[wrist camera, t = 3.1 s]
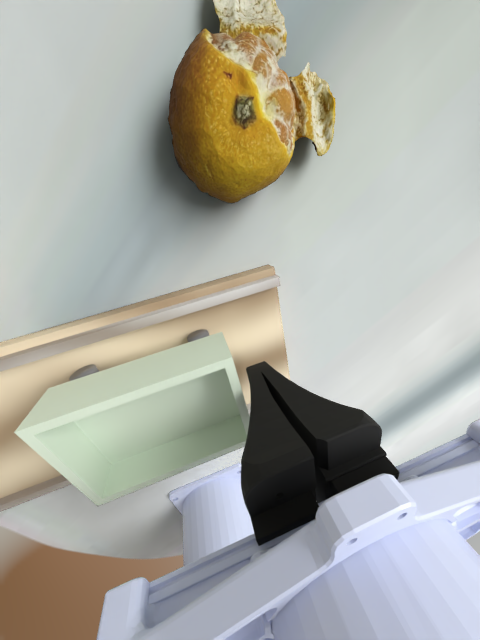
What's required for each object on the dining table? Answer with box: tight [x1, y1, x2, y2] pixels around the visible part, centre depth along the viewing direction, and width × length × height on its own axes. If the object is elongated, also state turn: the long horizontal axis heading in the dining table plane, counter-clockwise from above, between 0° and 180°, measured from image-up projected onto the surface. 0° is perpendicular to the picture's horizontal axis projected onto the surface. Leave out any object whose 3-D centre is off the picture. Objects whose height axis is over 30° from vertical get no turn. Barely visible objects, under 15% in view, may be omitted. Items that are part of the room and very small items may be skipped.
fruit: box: [168, 0, 335, 203], centre depth 9 cm, size 8×8×4 cm
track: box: [0, 265, 290, 512], centre depth 14 cm, size 12×25×3 cm, turn 103°
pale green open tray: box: [14, 329, 250, 506], centre depth 13 cm, size 7×10×4 cm
